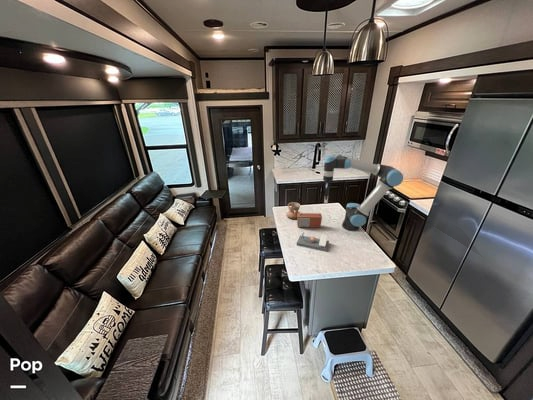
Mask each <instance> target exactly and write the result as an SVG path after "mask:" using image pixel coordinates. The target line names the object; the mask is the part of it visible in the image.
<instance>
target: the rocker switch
mask: <svg viewBox="0 0 533 400" xmlns="http://www.w3.org/2000/svg"><path fill="white" fill-rule="evenodd" d="M319 239H320V242H319V246H322V247H325V246H326V241H328V235H326V234H320V238H319Z"/></svg>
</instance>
